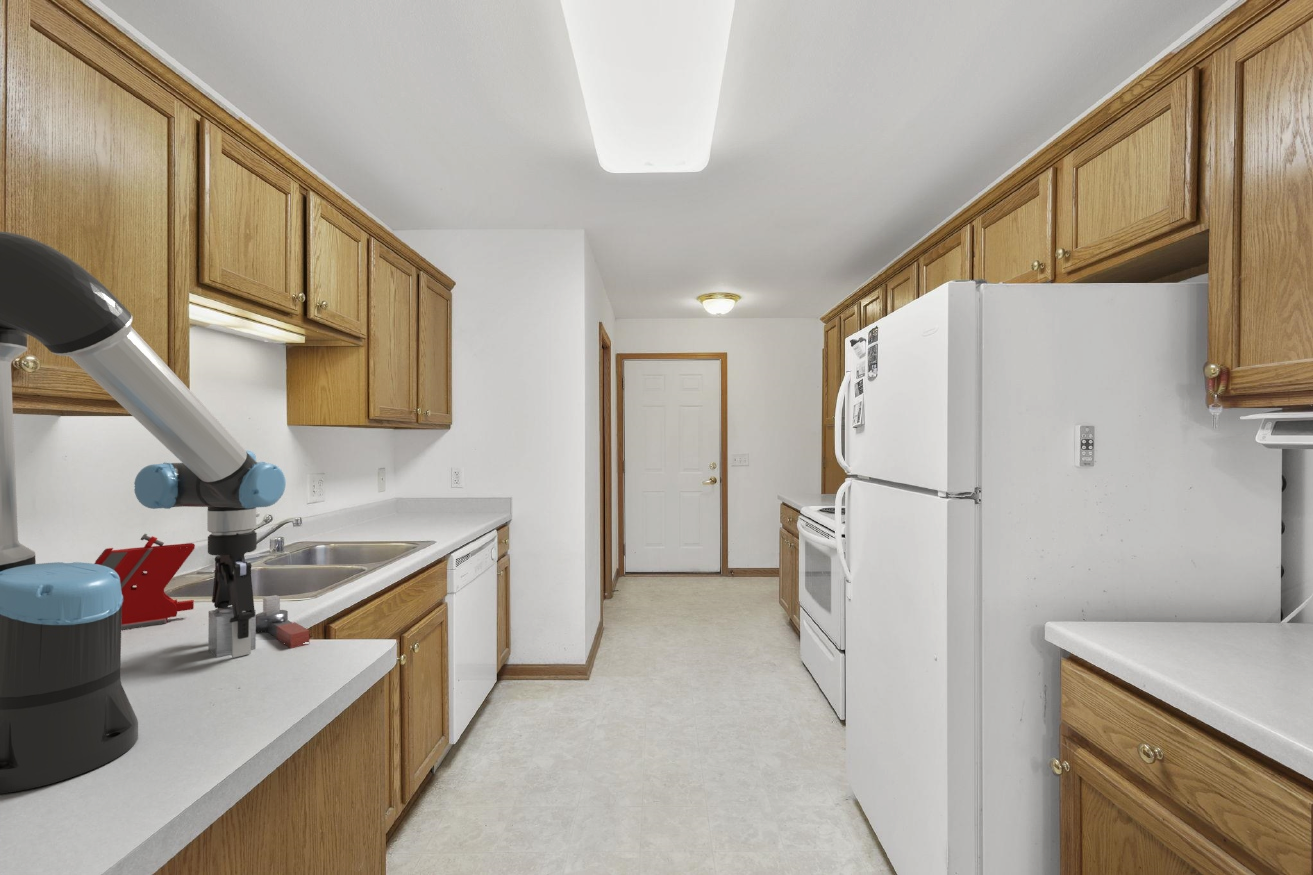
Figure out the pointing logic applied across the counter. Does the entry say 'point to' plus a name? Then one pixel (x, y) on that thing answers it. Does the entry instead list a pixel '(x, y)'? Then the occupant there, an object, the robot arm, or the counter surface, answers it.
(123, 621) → the tool
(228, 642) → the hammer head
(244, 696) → the counter surface
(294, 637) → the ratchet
